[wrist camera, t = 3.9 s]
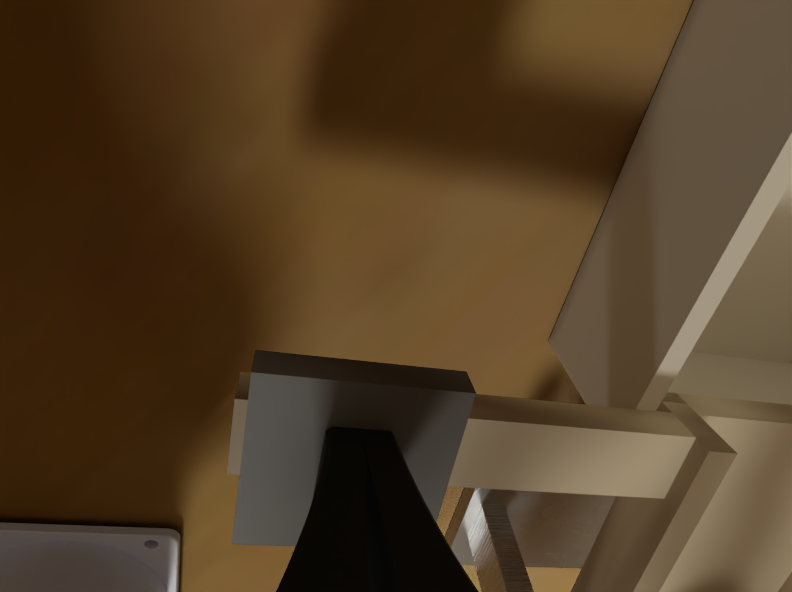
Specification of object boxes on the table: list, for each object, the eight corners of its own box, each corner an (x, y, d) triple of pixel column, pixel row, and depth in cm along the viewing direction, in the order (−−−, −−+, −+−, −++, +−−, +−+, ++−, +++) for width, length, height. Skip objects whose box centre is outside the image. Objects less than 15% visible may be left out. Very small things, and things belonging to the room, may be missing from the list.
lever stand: (440, 547, 24) (471, 701, 19) (478, 452, 22) (527, 603, 16) (673, 555, 27) (755, 693, 22) (735, 470, 24) (847, 606, 19)
